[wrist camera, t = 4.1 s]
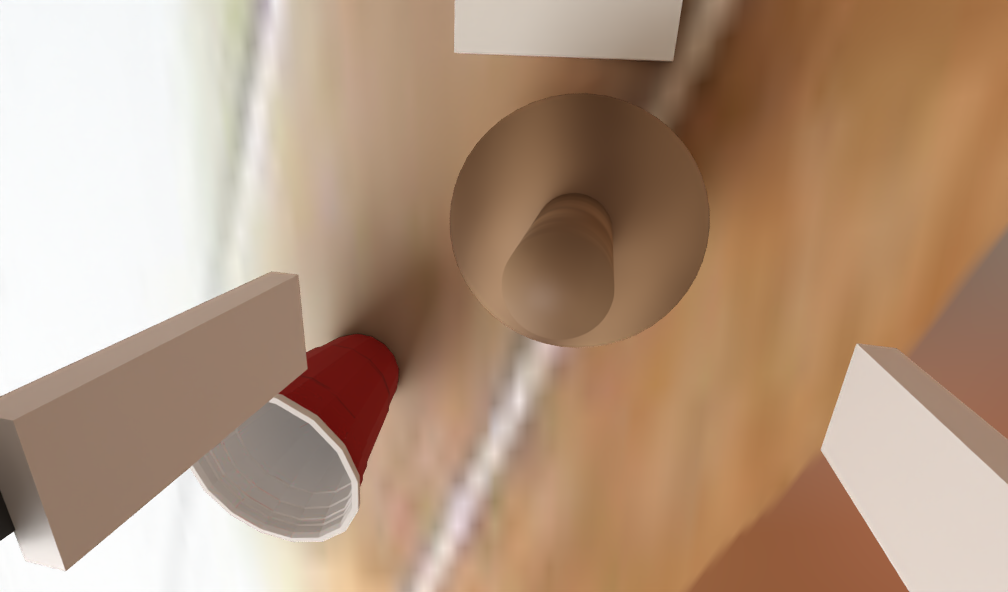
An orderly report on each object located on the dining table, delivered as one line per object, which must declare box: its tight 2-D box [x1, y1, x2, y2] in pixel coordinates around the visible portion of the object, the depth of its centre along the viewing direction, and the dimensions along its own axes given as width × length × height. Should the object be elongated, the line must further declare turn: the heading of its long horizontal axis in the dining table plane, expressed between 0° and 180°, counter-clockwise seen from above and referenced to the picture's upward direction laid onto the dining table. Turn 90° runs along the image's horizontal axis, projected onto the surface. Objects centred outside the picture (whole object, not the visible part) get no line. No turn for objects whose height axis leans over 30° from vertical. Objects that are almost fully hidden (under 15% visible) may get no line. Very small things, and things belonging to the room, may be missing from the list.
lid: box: [450, 94, 710, 348], centre depth 20 cm, size 12×12×9 cm
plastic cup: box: [190, 334, 399, 542], centre depth 32 cm, size 11×11×12 cm
